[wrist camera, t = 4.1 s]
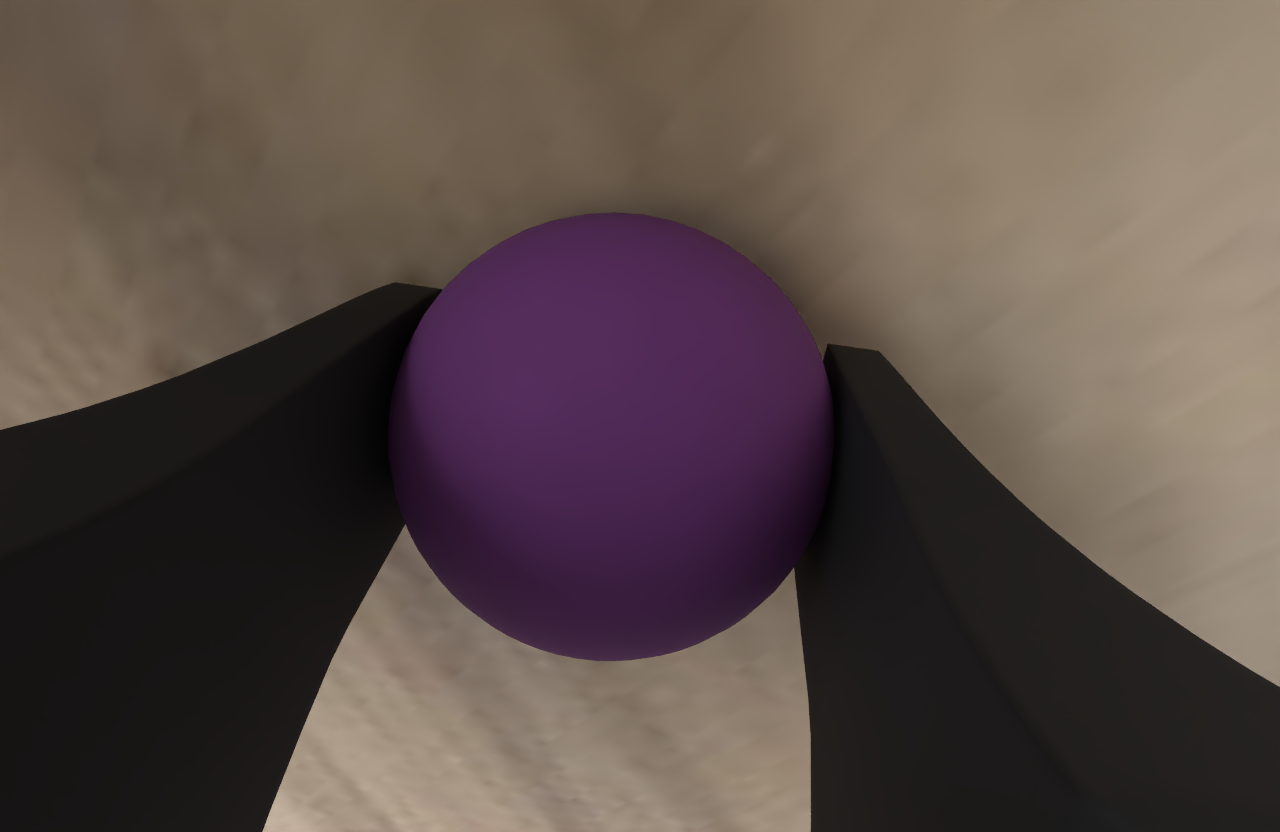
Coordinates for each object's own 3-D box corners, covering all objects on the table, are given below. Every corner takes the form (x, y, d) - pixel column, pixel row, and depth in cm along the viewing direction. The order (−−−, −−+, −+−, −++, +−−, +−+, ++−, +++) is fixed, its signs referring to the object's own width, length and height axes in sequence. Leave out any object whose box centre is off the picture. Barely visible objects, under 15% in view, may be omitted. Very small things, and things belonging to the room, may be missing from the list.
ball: (675, 519, 13) (639, 813, 9) (407, 351, 12) (230, 606, 8) (902, 306, 11) (985, 585, 7) (589, 64, 10) (462, 231, 6)
